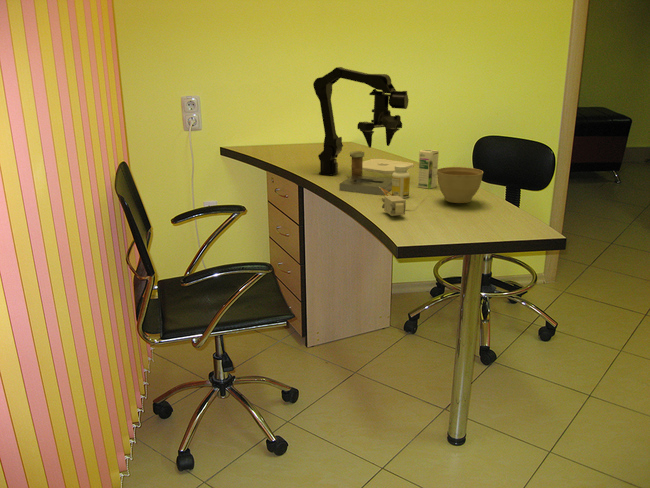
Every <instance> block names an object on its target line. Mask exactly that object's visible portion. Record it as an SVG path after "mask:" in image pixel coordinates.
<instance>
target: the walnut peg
mask: <svg viewBox="0 0 650 488" xmlns="http://www.w3.org/2000/svg"><path fill="white" fill-rule="evenodd" d="M349 157H351V165H352V167H351V172H350V173H351V176H353V175H355V176H363V170H362V164H363V160H364V159H363V158H364V157H365V151H360V150H354V151H350V152H349ZM351 176H350V177H351Z"/></svg>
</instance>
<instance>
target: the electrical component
mask: <svg viewBox="0 0 650 488" xmlns="http://www.w3.org/2000/svg"><path fill="white" fill-rule="evenodd" d="M379 188H380V187H379ZM381 190H382V191H383V190H384V189H382V188H381ZM384 191H386V190H384ZM384 191H383V192H384ZM386 192H387V191H386ZM384 193H385V192H384ZM385 194H386V193H385ZM388 194H389V195H388ZM381 200H382V201H381V202H383V204H382V205H381V208H382V209H384V212H386V213H387V214H388V215H390V216H393V217H394V216H405V215H406V204H407V201H406V198H402V197H400V196H398V195H397V196H393V195H392V193H391V192H390V191H389V192H387V194H386V195H384V197H383V198H381Z"/></svg>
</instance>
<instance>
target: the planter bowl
mask: <svg viewBox="0 0 650 488" xmlns="http://www.w3.org/2000/svg"><path fill="white" fill-rule="evenodd" d="M483 175H484V171H483V170H481V169H478V168H473V167H465V166H449V167H448V166H446V167H440V168H438V170H437V185H438V187H439V189H440V191H441V193H442V195H443V197H444V200H445V202H449V203H454V204H455V203H456V204H465V203H466V204H467V203H470V202H472V198H473V197H475V195H476V194H477V192H478V191H479V190H480V186H481V184H482V180H483Z"/></svg>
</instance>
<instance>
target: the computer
mask: <svg viewBox="0 0 650 488" xmlns="http://www.w3.org/2000/svg"><path fill="white" fill-rule="evenodd" d="M395 165H407V166H408V169H411V168H413V167H414V163H413V162H407V161H400V160H394V159H393V160H391V159H384V158H371V159H368V160H367V159H366V160H364V161H363V164H362V171H368V172H373V173H378V174H384V175H392V174H393V173H394V172H395ZM350 166H351V168H352V164H351V165H350ZM408 169H407V170H408Z"/></svg>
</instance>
